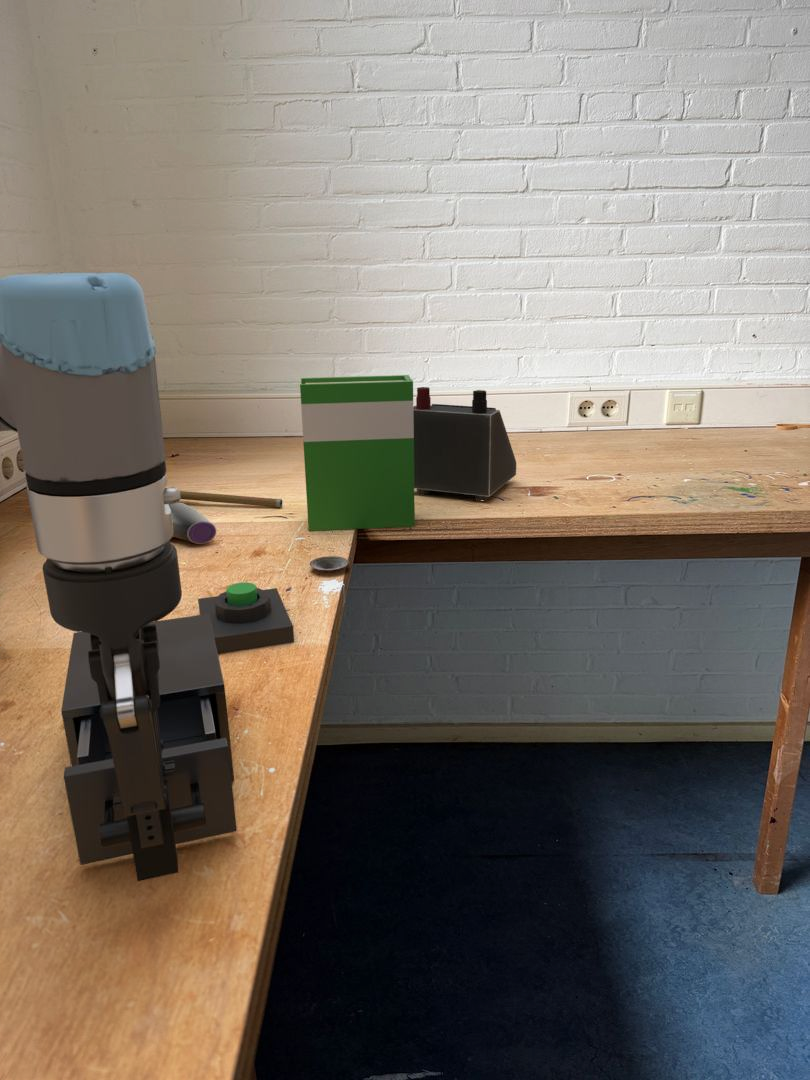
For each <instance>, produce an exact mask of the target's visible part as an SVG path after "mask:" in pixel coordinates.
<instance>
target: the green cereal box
mask: <svg viewBox="0 0 810 1080" xmlns="http://www.w3.org/2000/svg"><path fill="white" fill-rule="evenodd" d="M300 380H301V381H300V382H301V383H300V384H299V391H300V392H299V393H300V407H301V409H300V411H301V425H302V441H303V458H304V459H303V460H304V474H305V475H304V478H305V493H306V510H307V525H308V526H307V527H308V532H317V531H318V532H319V531H341V530H361V529H362V530H364V529H384V528H386V529H387V528H407V527H409V528H411V527H415V526H416V525H415V523H416V517H415V516H416V515H415V514H416V513H415V510H416V509H415V504H416V503H415V488H414V418H413V406H414V381H413V380H412V378H411V377H410V375H409V374H395V375H394V374H392V375H360V376H357V375H356V376H327V377H325V376H324V377H323V376H322V377H301V378H300Z"/></svg>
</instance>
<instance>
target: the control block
mask: <svg viewBox="0 0 810 1080" xmlns="http://www.w3.org/2000/svg"><path fill="white" fill-rule="evenodd" d="M257 598H258V600H257V601H256V602H254V603H251V604H249V605H241V606H237V605H230V604H228V603H227V593H226V591H223V592H221V593H219V594H218V595H215V596H209V597H208V596H207V597H201V598H197V603H198V612H199V615H204V614H209V615H210V620H211V625H212V629H213V634H214V639H215V643H216V648H217V653H218V655H223V654H229V653H236V652H243V651H248V650H254V649H261V648H269V647H274V646H280V645H287V644H293V643H295V635H294V633H295V632H294V625H293V623H292V620H291V618H290V615H289V613H288V611H287V609H286V607H285V604H284V602H283V599H282V597H281V595H280V592H279V591H278V588H277V587H275V588H267V589H261V588H258V587H257Z"/></svg>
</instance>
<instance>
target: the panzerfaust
mask: <svg viewBox="0 0 810 1080" xmlns="http://www.w3.org/2000/svg"><path fill="white" fill-rule="evenodd" d="M179 492H180V493H181V499H180V500H185V501H198V502H210V503H223V504H233V505H244V506H245V505H246V506H259V507H270V508H277V509H281V508H283V499H282V498H273V497H272V498H271V497H258V496H246V495H237V494H235V495H234V494H221V493H212V492H211V493H210V492H199V491H198V492H197V491H186V490H179Z"/></svg>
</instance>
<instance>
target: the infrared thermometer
mask: <svg viewBox="0 0 810 1080" xmlns="http://www.w3.org/2000/svg"><path fill="white" fill-rule="evenodd" d="M168 505H169V507H170V509H171V515H172V523H173V536H172V537H171V539H172V538H176V539H180V540H184V541H186V542H189V543H194V544H197V545H203V544H207V543H210V542H211V541H212V540H214V538H215V537H216V535H217V527H216V525H215V524H214V523H213V522H211V520H209V519H208V518H206V517H205V516H204V515H203V514H202V513H200V512H199V511H198V510H197V509H195V508H194V507H192V506H189V505H188V504H185V503H183V502H177V503H175V504H168Z"/></svg>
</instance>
